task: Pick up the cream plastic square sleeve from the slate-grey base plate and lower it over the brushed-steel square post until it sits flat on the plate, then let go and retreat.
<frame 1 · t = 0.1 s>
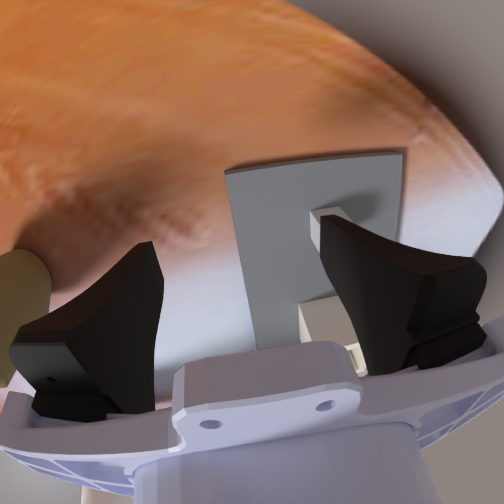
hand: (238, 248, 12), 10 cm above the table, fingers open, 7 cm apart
squeeze bottle: (30, 271, 23), on the table
base plate: (321, 266, 26), on the table
sleeve: (323, 316, 28), point 1 cm above the table, touching base plate
bottle: (125, 391, 34), on the table
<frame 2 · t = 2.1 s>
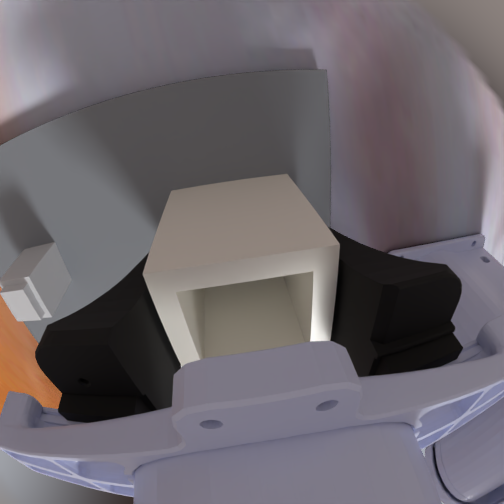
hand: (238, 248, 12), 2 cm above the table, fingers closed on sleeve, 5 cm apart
base plate: (129, 240, 14), on the table
sleeve: (236, 232, 13), point 1 cm above the table, touching base plate, gripper
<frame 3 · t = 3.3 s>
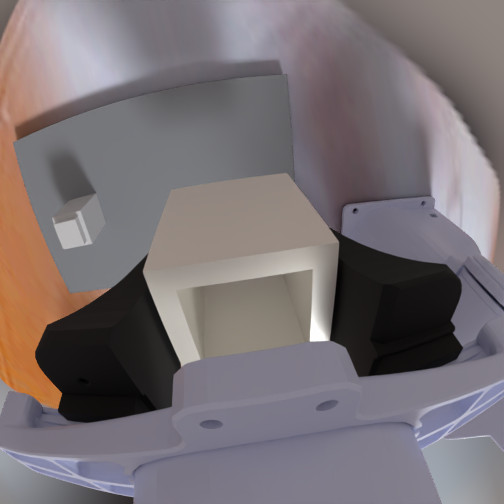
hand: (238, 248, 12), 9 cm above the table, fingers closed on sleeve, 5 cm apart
base plate: (151, 192, 20), on the table
sleeve: (236, 231, 14), point 8 cm above the table, touching gripper
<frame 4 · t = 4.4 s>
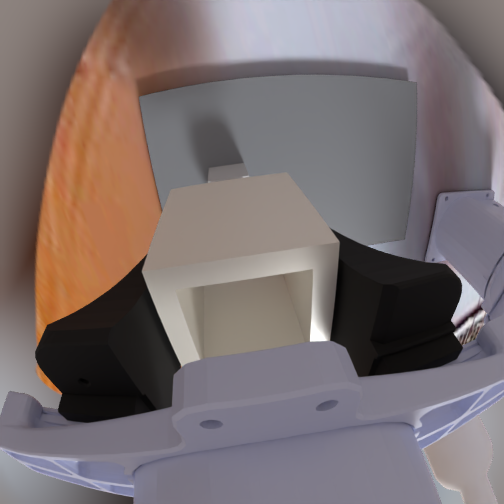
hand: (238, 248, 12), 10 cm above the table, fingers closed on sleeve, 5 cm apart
base plate: (295, 169, 21), on the table
sleeve: (236, 231, 13), point 8 cm above the table, touching gripper
bottle: (405, 345, 36), on the table
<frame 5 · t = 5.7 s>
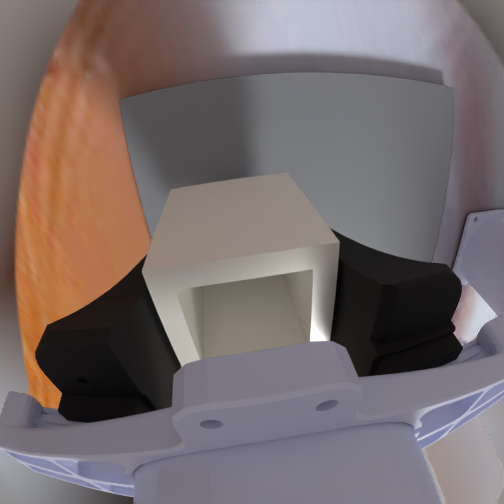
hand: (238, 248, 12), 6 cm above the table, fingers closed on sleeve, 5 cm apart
base plate: (314, 189, 17), on the table
sleeve: (236, 231, 13), point 4 cm above the table, touching gripper
bottle: (418, 368, 32), on the table
when the fingers open (3 cm above the table, at t = 6.8 s): sleeve stays where it is, resting on base plate.
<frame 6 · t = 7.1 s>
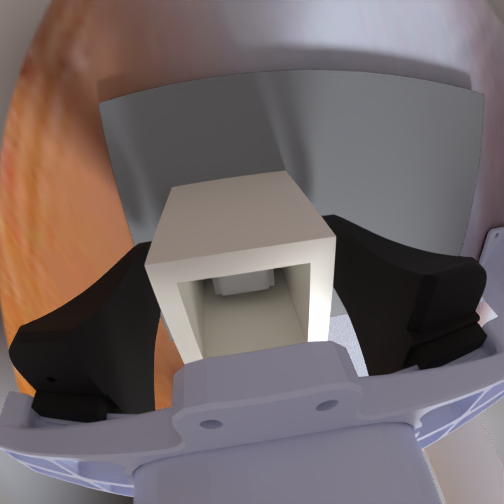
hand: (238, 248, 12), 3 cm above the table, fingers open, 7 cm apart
base plate: (330, 207, 15), on the table
sleeve: (236, 228, 14), point 1 cm above the table, touching base plate
bottle: (427, 384, 30), on the table
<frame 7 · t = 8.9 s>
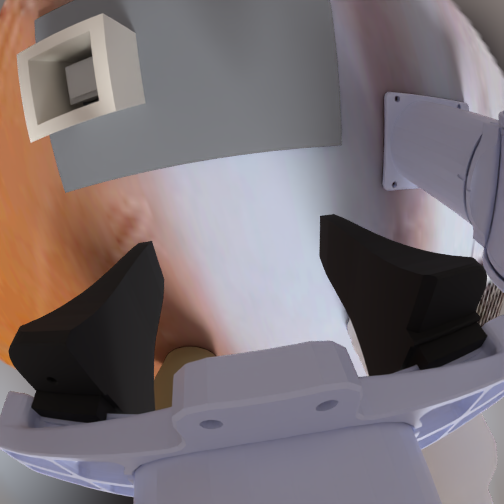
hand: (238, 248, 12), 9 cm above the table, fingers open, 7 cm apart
squeeze bottle: (192, 360, 30), on the table
base plate: (180, 60, 15), on the table
sleeve: (103, 78, 14), point 1 cm above the table, touching base plate
bottle: (377, 314, 30), on the table
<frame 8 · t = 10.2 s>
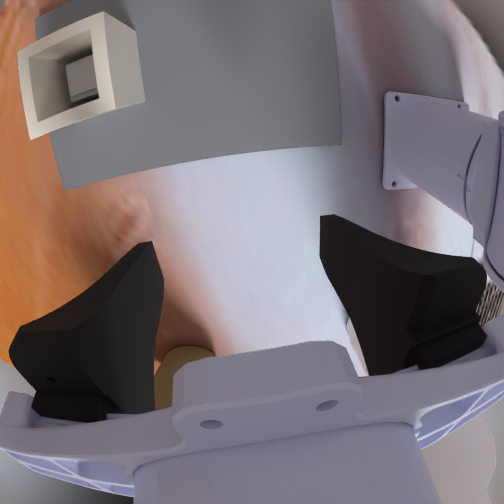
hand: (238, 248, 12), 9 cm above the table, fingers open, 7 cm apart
squeeze bottle: (191, 359, 30), on the table
base plate: (181, 59, 15), on the table
sleeve: (104, 76, 14), point 1 cm above the table, touching base plate
bottle: (376, 314, 30), on the table
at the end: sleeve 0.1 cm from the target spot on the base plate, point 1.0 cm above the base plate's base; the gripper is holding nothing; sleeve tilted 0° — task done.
